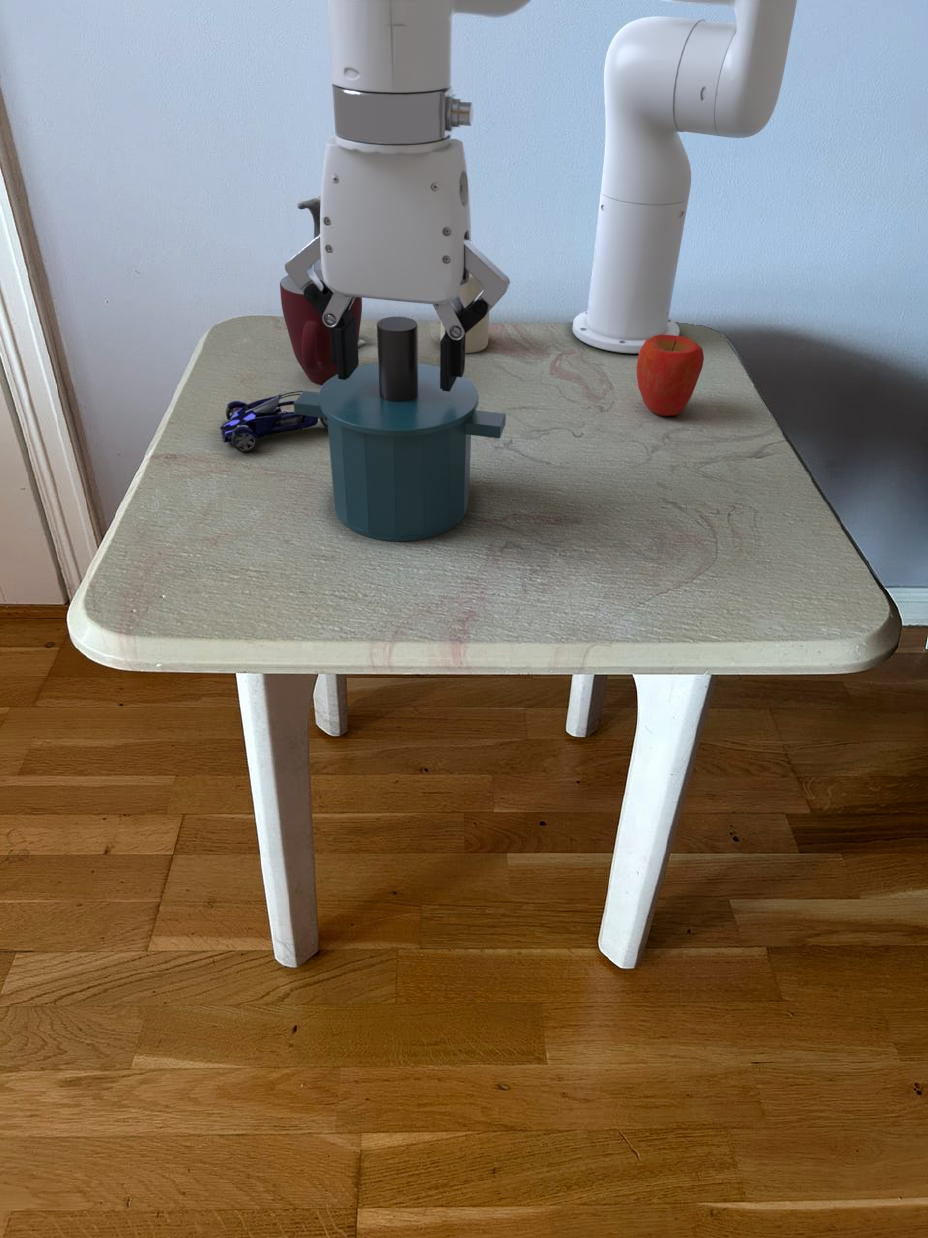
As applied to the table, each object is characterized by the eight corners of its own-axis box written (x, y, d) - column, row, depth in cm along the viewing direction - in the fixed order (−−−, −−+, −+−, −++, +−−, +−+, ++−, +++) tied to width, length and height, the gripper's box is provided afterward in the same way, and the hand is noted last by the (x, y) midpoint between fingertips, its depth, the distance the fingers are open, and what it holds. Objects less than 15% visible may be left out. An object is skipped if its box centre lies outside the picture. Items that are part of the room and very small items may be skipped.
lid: (347, 367, 76) (342, 288, 72) (491, 383, 74) (494, 303, 70) (296, 432, 66) (287, 346, 62) (460, 452, 64) (462, 364, 60)
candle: (495, 349, 102) (499, 259, 96) (450, 355, 101) (451, 264, 94) (477, 332, 106) (480, 245, 100) (433, 338, 105) (433, 249, 98)
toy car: (224, 455, 81) (218, 416, 79) (218, 424, 86) (212, 386, 84) (354, 440, 84) (352, 401, 82) (341, 411, 89) (339, 373, 87)
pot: (328, 461, 81) (320, 360, 75) (508, 484, 79) (515, 381, 73) (284, 526, 72) (271, 418, 67) (485, 554, 70) (490, 444, 64)
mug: (361, 404, 90) (356, 305, 84) (281, 403, 90) (269, 304, 84) (367, 362, 99) (363, 269, 92) (294, 361, 98) (285, 268, 92)
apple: (618, 408, 91) (628, 336, 86) (655, 392, 94) (667, 322, 90) (667, 430, 88) (681, 356, 83) (705, 412, 91) (720, 341, 86)
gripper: (534, 115, 59) (518, 371, 70) (285, 99, 62) (306, 348, 73) (516, 137, 53) (501, 412, 64) (242, 118, 56) (273, 386, 67)
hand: (398, 376), depth 68 cm, fingers open, 7 cm apart
